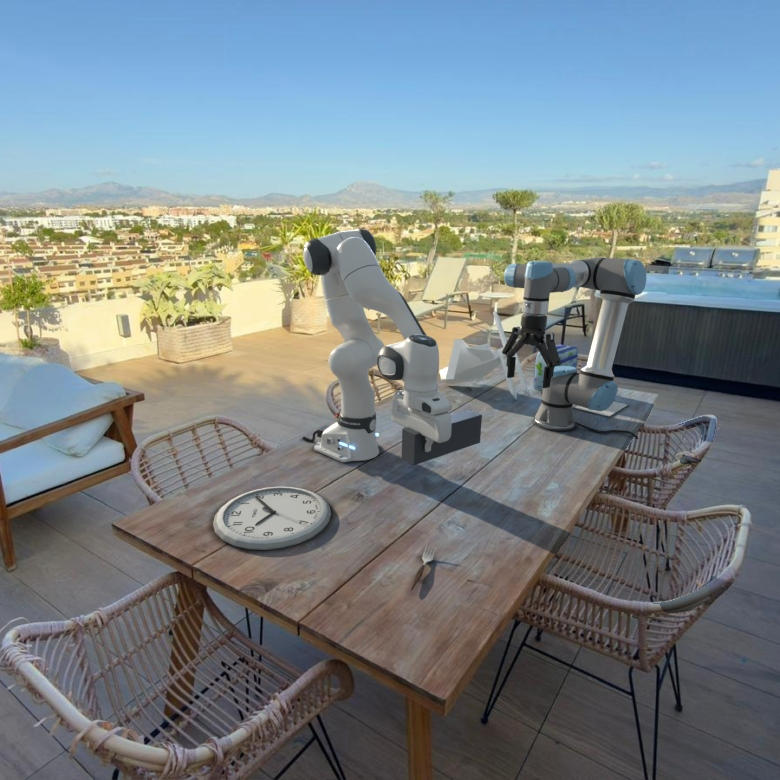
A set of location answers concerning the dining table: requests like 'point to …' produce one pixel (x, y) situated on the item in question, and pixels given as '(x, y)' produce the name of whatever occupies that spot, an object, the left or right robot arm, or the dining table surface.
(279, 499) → the wall clock
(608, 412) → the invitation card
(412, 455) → the bar
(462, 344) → the white plastic object
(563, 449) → the dining table surface
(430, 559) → the fork
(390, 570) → the dining table surface
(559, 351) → the lunch box
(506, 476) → the dining table surface
